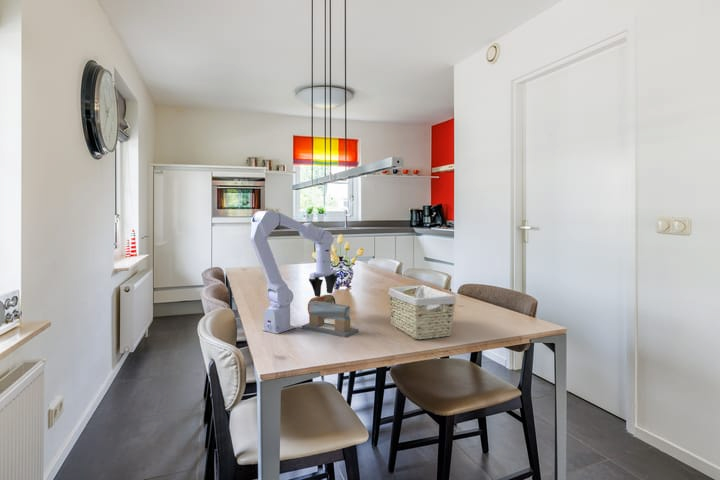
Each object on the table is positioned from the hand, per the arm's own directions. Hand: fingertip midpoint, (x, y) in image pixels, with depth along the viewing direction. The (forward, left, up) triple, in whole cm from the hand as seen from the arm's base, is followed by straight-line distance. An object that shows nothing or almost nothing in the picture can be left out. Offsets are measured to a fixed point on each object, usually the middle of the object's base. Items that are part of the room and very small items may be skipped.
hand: (323, 294), depth 158 cm
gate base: (-9, -10, -10) cm, 17 cm away
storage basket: (+9, -38, -11) cm, 40 cm away
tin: (+6, +6, -11) cm, 14 cm away
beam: (-9, -10, -5) cm, 14 cm away
